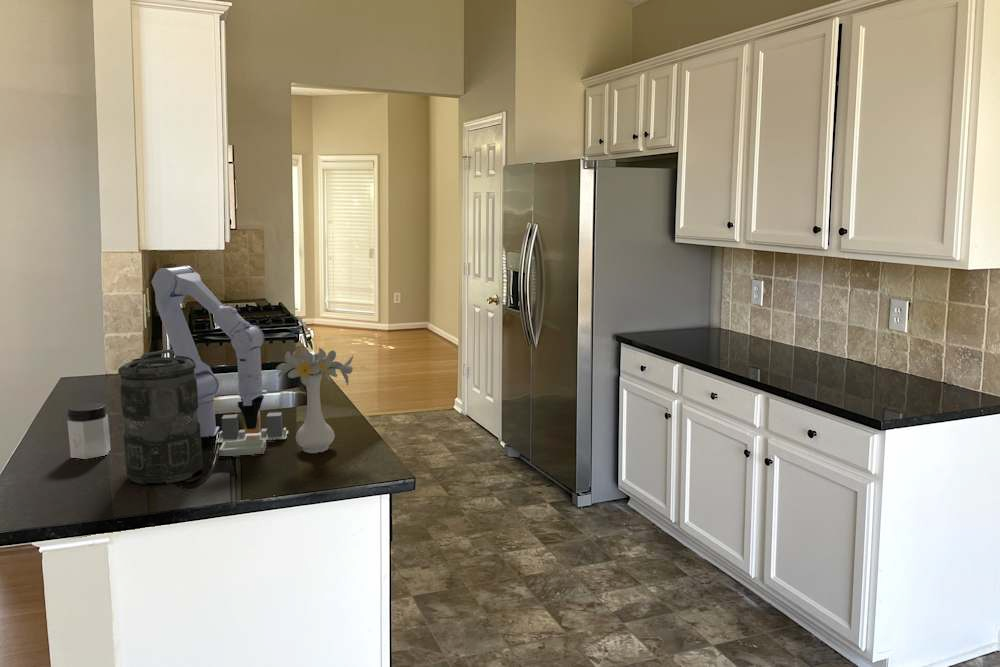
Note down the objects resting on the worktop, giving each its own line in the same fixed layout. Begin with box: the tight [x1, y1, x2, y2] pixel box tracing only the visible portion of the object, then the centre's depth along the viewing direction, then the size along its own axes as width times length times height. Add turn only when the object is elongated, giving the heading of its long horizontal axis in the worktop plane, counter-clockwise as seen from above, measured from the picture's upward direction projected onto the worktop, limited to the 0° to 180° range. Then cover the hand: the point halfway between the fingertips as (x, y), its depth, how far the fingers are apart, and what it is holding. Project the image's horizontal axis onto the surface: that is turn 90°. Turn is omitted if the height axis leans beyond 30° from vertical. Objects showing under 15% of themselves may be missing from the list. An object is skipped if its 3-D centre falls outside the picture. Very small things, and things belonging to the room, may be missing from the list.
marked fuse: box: [243, 408, 262, 434], centre depth 209 cm, size 4×4×6 cm
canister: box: [117, 349, 203, 486], centre depth 181 cm, size 16×16×28 cm
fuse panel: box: [216, 411, 289, 444], centre depth 209 cm, size 17×7×6 cm, turn 100°
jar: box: [66, 402, 112, 459], centre depth 196 cm, size 9×8×12 cm
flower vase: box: [275, 347, 354, 454], centre depth 199 cm, size 13×18×25 cm
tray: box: [218, 439, 268, 457], centre depth 199 cm, size 10×7×2 cm
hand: (252, 426), depth 209 cm, fingers closed on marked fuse, 3 cm apart
